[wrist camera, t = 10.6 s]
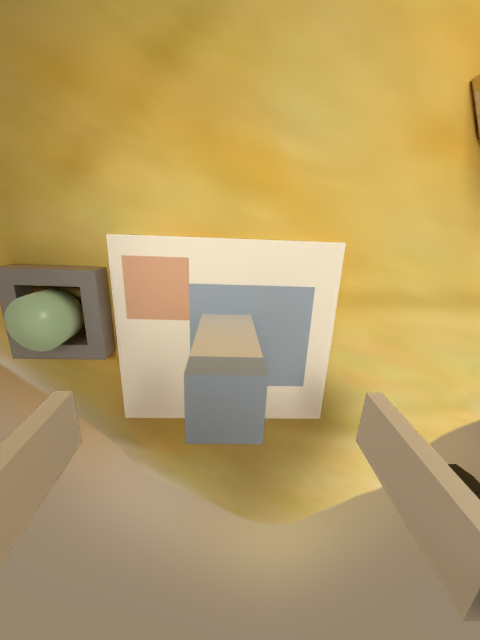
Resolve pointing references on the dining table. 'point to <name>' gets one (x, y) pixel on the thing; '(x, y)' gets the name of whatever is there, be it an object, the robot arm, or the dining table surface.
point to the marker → (225, 383)
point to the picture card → (223, 298)
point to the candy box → (477, 98)
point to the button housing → (93, 284)
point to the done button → (44, 319)
